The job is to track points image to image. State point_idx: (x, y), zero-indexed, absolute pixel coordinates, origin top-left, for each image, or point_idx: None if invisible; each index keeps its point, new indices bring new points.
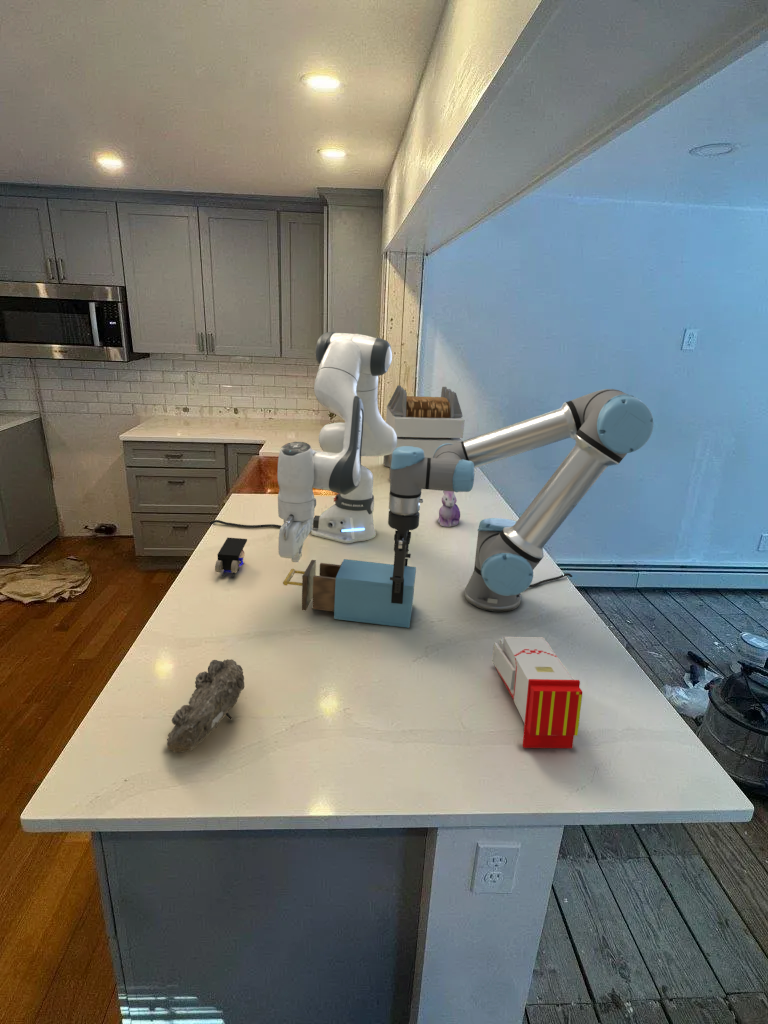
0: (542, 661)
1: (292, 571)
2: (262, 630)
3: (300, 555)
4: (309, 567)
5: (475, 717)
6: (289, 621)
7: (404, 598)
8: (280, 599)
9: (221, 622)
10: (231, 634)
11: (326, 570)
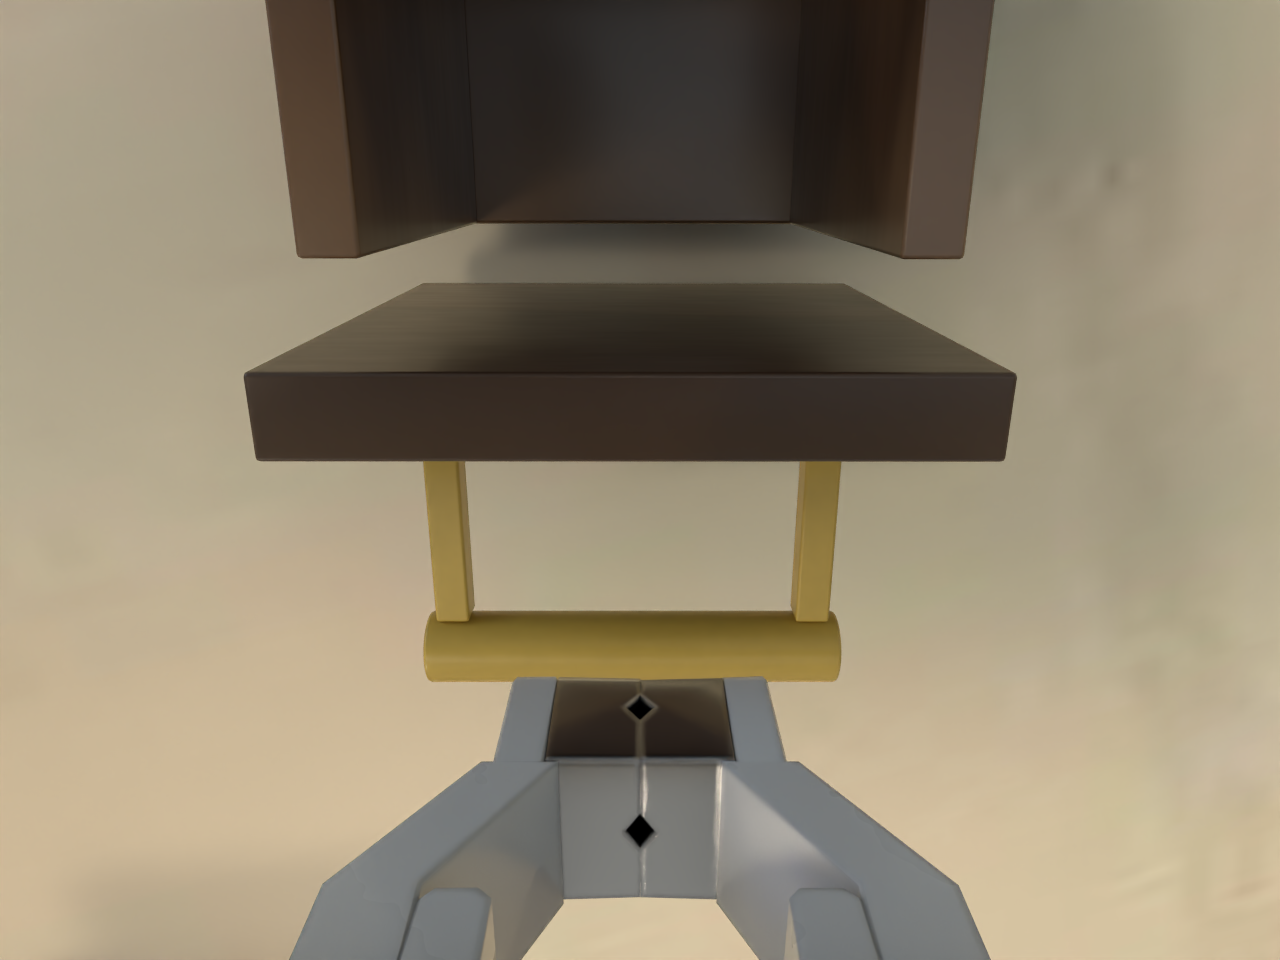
0: None
1: (514, 651)
2: (1096, 587)
3: (606, 720)
4: (615, 420)
5: None
6: None
7: None
8: (545, 591)
9: (983, 884)
10: (1154, 776)
11: (381, 109)
